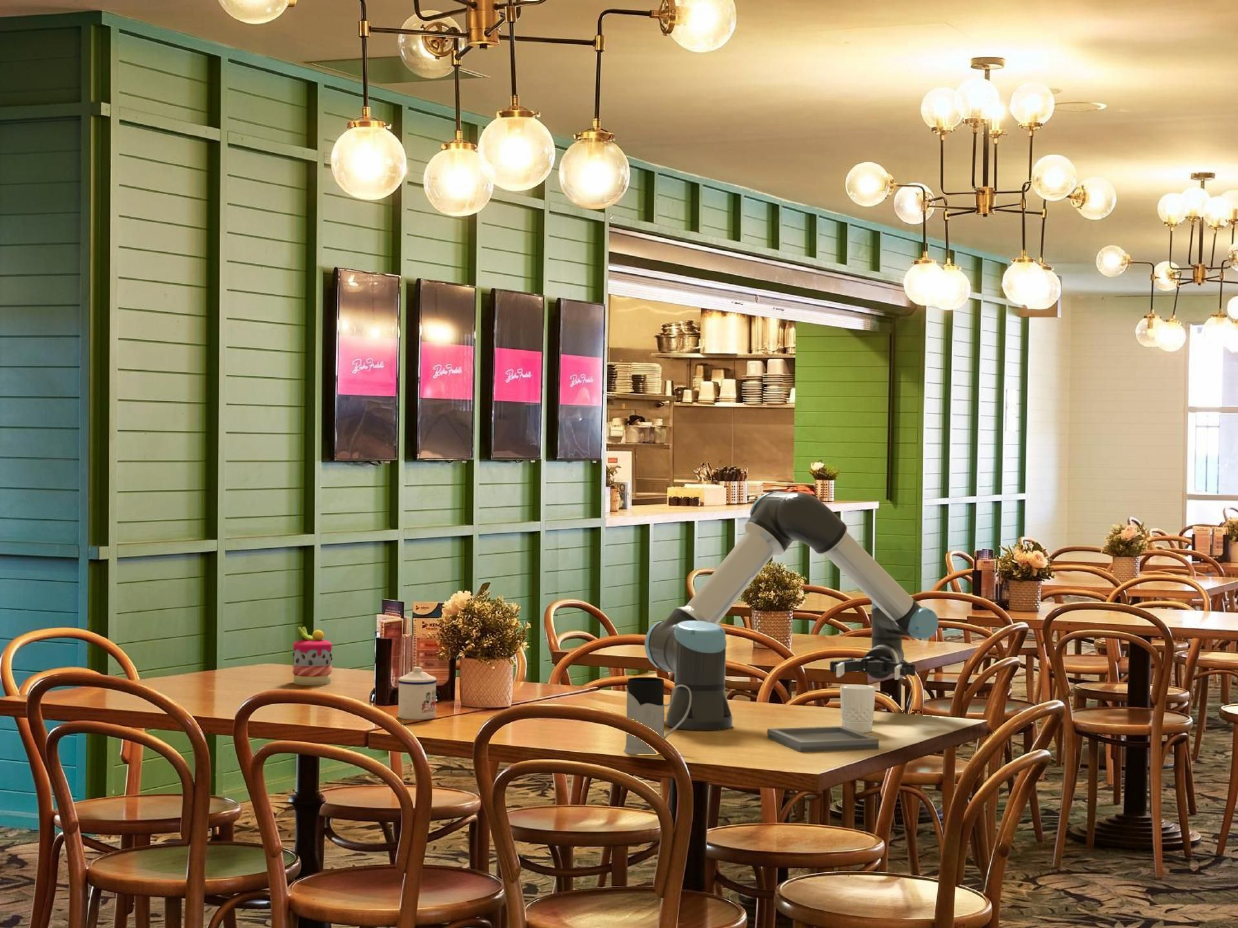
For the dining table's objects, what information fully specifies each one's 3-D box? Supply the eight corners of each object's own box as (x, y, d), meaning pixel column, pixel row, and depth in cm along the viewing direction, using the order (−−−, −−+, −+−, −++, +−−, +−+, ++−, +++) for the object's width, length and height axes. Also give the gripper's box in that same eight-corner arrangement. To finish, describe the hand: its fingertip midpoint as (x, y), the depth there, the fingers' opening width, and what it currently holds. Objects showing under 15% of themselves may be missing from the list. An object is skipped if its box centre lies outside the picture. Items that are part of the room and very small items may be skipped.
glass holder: (619, 748, 332) (620, 676, 332) (685, 746, 336) (686, 675, 336) (629, 755, 324) (630, 682, 324) (696, 754, 327) (697, 681, 327)
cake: (332, 680, 434) (333, 625, 434) (330, 685, 424) (331, 629, 424) (293, 680, 433) (294, 625, 433) (290, 685, 423) (291, 629, 423)
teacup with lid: (428, 720, 366) (429, 670, 366) (391, 718, 368) (392, 668, 368) (446, 713, 377) (447, 664, 377) (410, 711, 379) (411, 662, 379)
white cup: (873, 734, 356) (874, 689, 356) (838, 732, 357) (839, 688, 357) (875, 728, 364) (876, 685, 364) (840, 727, 365) (841, 683, 365)
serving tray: (800, 751, 331) (800, 742, 331) (767, 737, 349) (767, 728, 349) (878, 748, 337) (878, 739, 337) (842, 734, 354) (842, 725, 354)
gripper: (932, 679, 386) (921, 690, 366) (830, 674, 394) (814, 686, 374) (932, 648, 386) (921, 658, 366) (830, 644, 394) (814, 654, 374)
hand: (866, 672), depth 370 cm, fingers open, 13 cm apart
